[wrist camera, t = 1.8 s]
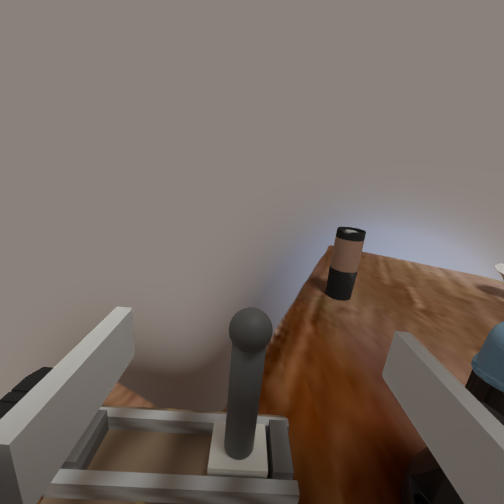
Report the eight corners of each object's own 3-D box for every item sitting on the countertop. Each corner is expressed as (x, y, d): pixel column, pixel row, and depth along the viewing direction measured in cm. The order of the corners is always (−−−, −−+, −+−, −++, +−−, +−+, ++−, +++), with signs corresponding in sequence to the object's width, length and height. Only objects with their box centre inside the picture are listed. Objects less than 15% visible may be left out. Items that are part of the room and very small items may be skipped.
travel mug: (344, 289, 81) (357, 227, 75) (356, 301, 73) (371, 233, 67) (321, 288, 80) (332, 225, 74) (330, 300, 72) (344, 231, 67)
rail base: (282, 424, 35) (286, 398, 34) (298, 547, 23) (305, 515, 22) (103, 413, 34) (100, 386, 33) (28, 536, 22) (19, 502, 21)
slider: (262, 439, 31) (282, 299, 25) (265, 487, 26) (290, 329, 21) (213, 436, 31) (222, 295, 25) (206, 484, 26) (215, 323, 20)
